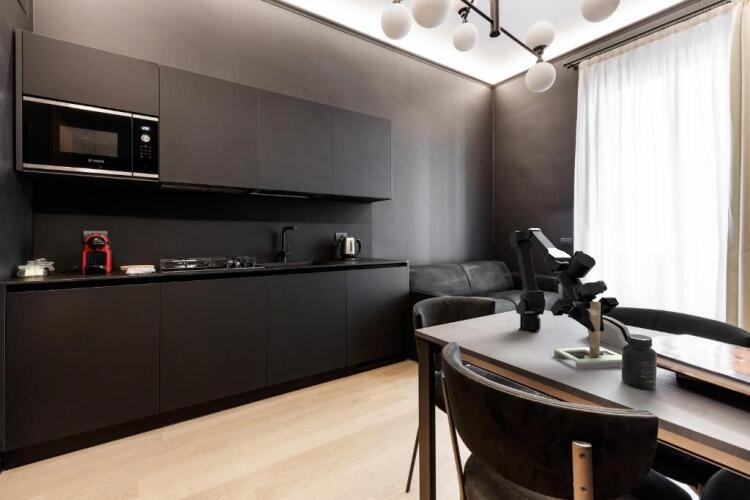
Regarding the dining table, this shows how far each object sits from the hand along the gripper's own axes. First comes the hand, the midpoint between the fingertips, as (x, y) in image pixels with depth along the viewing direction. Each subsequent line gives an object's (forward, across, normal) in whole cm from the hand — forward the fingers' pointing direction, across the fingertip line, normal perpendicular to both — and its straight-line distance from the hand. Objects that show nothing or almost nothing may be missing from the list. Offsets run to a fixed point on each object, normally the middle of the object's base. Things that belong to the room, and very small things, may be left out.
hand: (598, 331), depth 100 cm
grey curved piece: (-5, +17, +18) cm, 26 cm away
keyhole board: (+5, -1, +7) cm, 9 cm away
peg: (+5, 0, +7) cm, 9 cm away
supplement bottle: (+17, -1, -4) cm, 18 cm away
